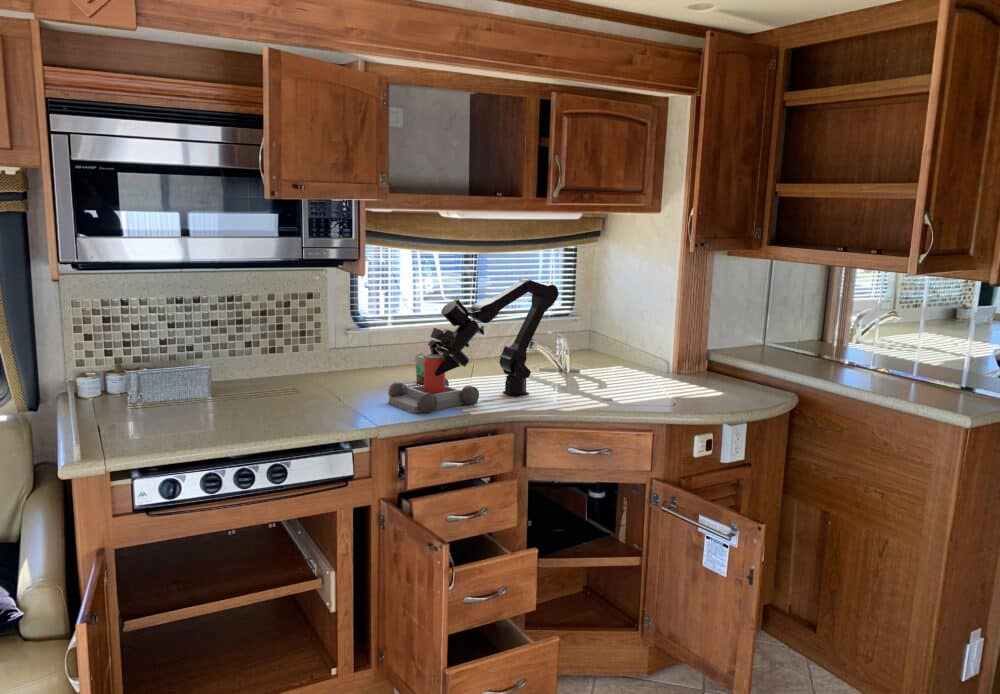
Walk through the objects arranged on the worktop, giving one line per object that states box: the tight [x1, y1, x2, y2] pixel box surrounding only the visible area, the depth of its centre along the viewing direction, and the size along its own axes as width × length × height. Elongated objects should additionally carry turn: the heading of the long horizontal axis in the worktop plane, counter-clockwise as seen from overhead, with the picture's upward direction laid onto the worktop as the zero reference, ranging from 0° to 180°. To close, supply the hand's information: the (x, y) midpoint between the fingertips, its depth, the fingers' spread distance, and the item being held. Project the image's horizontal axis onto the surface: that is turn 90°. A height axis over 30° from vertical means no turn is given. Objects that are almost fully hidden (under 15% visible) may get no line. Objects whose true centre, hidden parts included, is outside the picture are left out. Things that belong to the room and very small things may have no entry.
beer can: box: [424, 353, 446, 394], centre depth 246 cm, size 7×7×12 cm
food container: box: [413, 352, 426, 386], centre depth 271 cm, size 12×6×10 cm, turn 40°
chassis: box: [387, 377, 480, 414], centre depth 247 cm, size 24×18×6 cm
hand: (430, 372), depth 245 cm, fingers closed on beer can, 6 cm apart
